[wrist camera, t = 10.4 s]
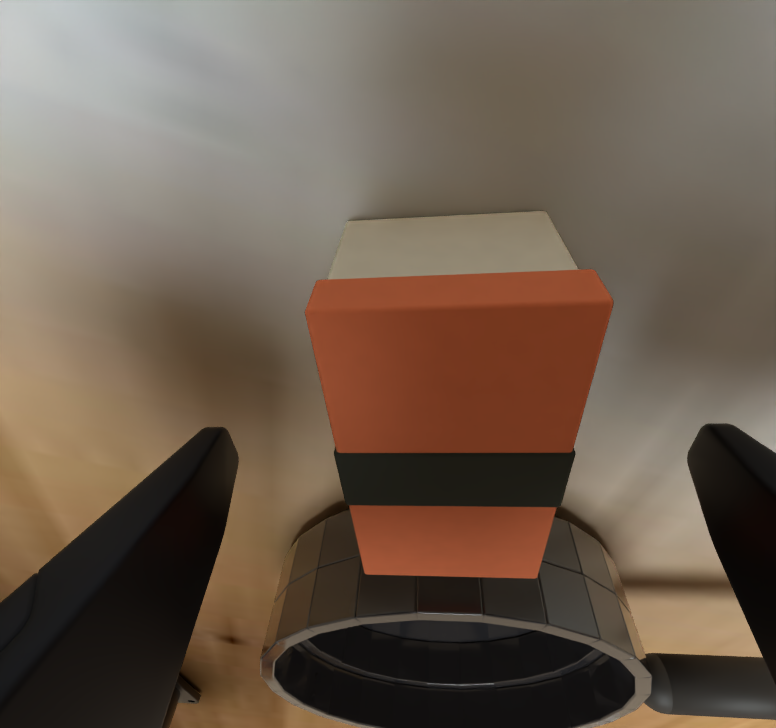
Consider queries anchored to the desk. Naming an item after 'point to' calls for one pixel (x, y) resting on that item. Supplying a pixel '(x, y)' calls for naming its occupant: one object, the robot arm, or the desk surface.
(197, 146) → the desk surface
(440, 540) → the sushi
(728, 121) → the desk surface
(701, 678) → the pan handle
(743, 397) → the desk surface
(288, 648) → the pan
